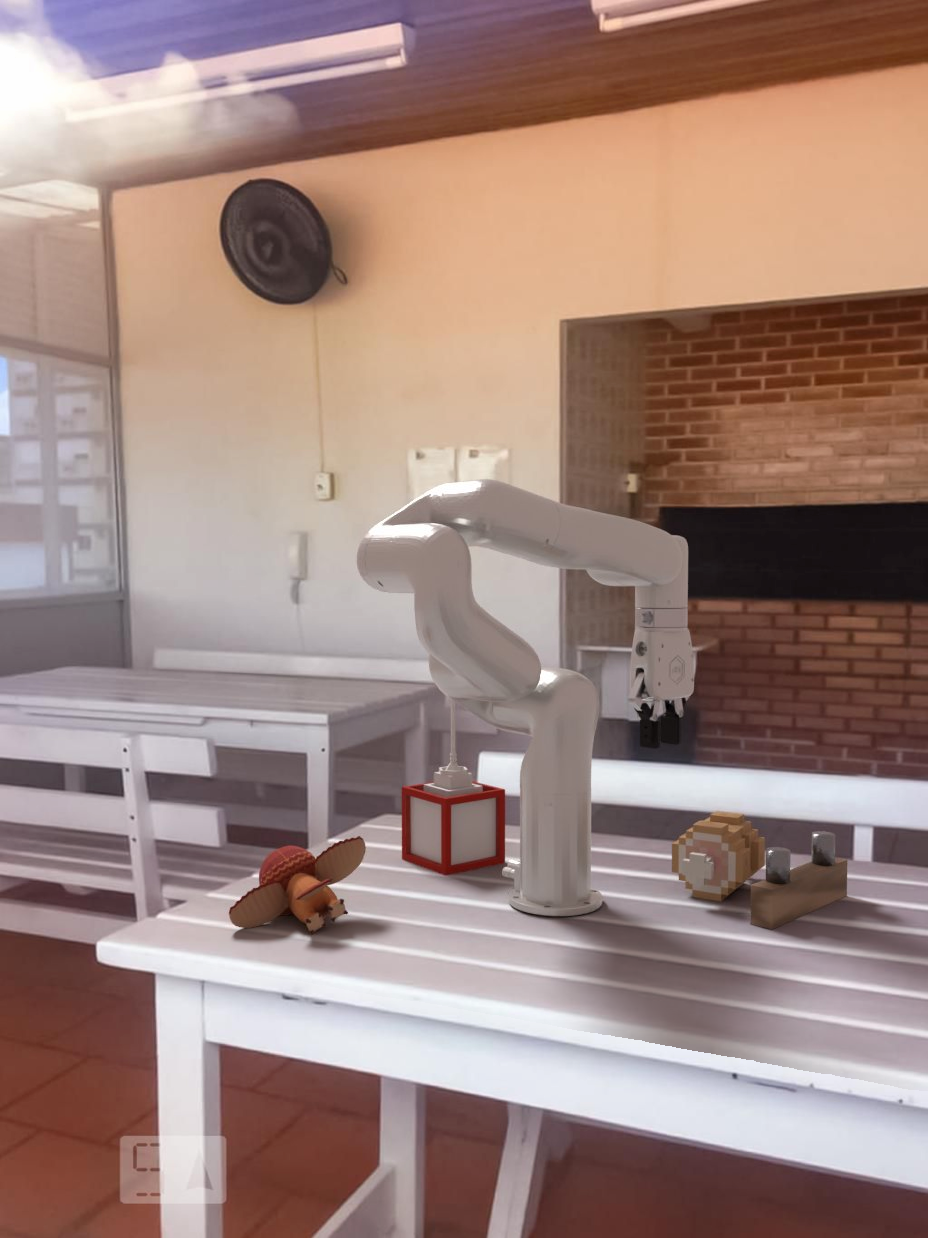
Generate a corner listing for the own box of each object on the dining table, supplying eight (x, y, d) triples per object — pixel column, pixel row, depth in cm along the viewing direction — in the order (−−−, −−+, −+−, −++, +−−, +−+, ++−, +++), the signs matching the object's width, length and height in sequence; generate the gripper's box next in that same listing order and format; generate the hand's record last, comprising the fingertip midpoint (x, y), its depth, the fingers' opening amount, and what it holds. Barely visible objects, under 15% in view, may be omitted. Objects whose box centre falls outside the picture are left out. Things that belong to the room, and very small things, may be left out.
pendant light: (460, 847, 175) (459, 662, 174) (505, 862, 166) (505, 667, 165) (401, 859, 168) (401, 666, 167) (445, 875, 159) (445, 672, 158)
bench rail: (750, 923, 137) (751, 853, 137) (826, 891, 151) (827, 827, 151) (771, 929, 135) (772, 858, 135) (846, 895, 149) (847, 830, 149)
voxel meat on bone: (772, 879, 157) (773, 811, 157) (733, 913, 142) (733, 837, 141) (705, 869, 162) (706, 803, 162) (660, 900, 147) (661, 827, 147)
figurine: (401, 903, 140) (347, 853, 152) (386, 849, 137) (332, 803, 149) (265, 985, 132) (219, 925, 144) (245, 929, 128) (200, 873, 140)
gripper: (647, 623, 149) (646, 755, 150) (715, 619, 161) (714, 742, 162) (604, 621, 154) (603, 749, 155) (673, 617, 166) (672, 736, 167)
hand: (660, 744), depth 158 cm, fingers open, 4 cm apart
